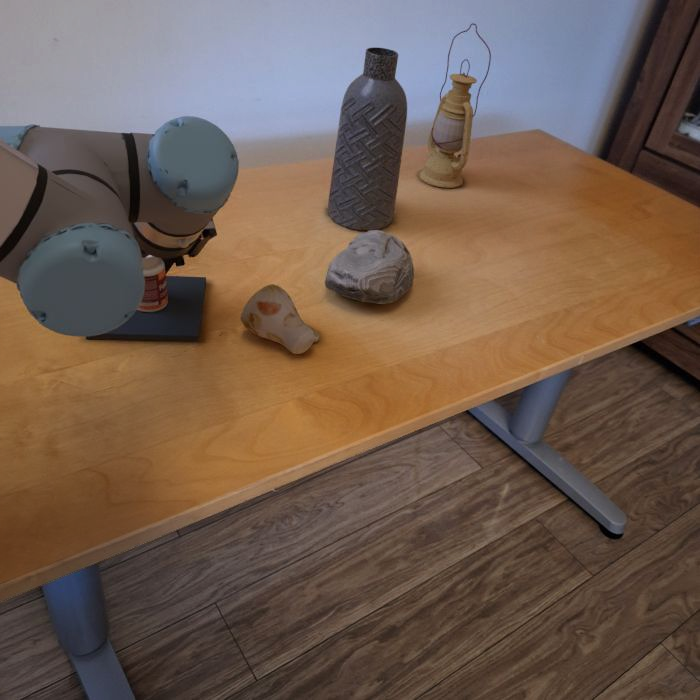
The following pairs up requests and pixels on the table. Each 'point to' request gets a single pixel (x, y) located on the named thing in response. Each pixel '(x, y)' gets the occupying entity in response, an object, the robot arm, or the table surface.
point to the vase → (369, 145)
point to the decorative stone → (372, 269)
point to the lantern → (451, 131)
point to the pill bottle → (154, 285)
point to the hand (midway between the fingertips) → (140, 269)
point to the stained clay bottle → (278, 319)
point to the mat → (167, 315)
